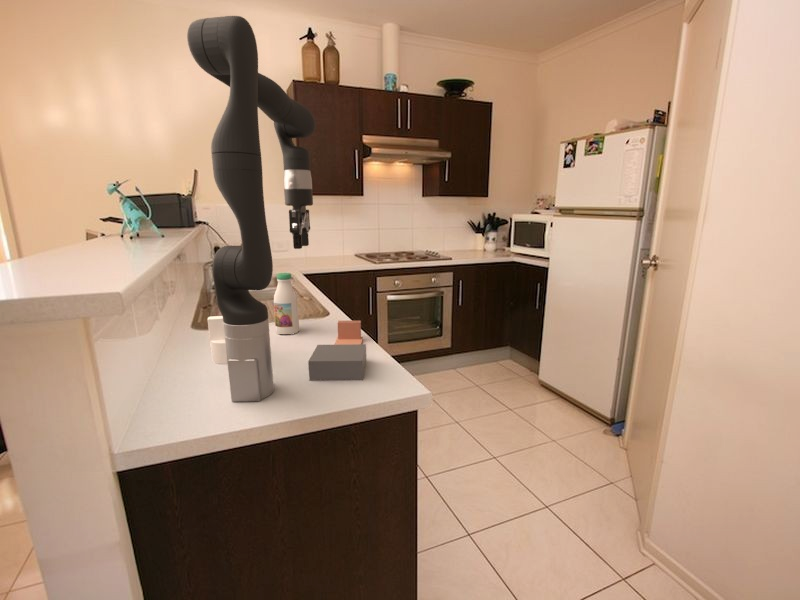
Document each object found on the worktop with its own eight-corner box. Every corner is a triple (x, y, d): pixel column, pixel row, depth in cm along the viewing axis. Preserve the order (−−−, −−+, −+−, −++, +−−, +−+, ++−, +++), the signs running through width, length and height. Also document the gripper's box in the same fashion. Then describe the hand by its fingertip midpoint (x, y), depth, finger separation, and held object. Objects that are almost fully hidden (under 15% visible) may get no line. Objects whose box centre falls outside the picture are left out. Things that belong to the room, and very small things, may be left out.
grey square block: (362, 380, 99) (362, 360, 98) (309, 380, 99) (308, 361, 98) (366, 360, 111) (366, 343, 110) (319, 361, 111) (318, 343, 110)
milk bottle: (288, 327, 142) (284, 271, 138) (304, 330, 138) (300, 272, 134) (270, 333, 136) (266, 274, 131) (287, 337, 132) (283, 276, 128)
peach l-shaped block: (356, 362, 110) (356, 341, 108) (327, 362, 109) (326, 341, 108) (362, 338, 130) (362, 320, 128) (337, 338, 129) (336, 320, 128)
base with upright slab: (209, 365, 108) (204, 322, 106) (214, 354, 117) (210, 314, 114) (245, 362, 111) (241, 319, 108) (247, 351, 119) (244, 311, 116)
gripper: (306, 186, 104) (309, 249, 108) (316, 189, 118) (319, 244, 122) (277, 186, 104) (281, 249, 108) (291, 189, 118) (294, 245, 122)
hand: (301, 247), depth 115 cm, fingers open, 8 cm apart
